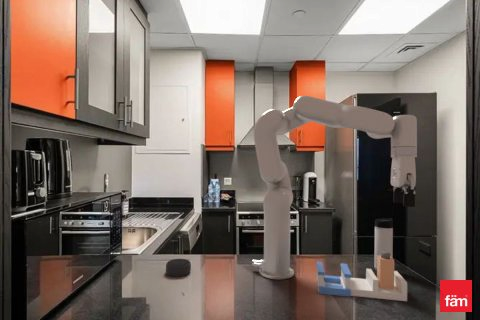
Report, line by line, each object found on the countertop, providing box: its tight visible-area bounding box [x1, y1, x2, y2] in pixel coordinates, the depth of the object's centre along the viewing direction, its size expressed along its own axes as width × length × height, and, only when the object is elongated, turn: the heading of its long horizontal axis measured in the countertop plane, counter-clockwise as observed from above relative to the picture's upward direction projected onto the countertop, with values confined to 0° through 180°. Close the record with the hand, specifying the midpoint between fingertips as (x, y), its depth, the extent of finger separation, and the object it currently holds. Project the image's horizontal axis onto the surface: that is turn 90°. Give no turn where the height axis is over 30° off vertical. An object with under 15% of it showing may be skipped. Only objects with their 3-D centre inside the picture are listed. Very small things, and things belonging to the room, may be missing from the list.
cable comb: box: [316, 260, 408, 302], centre depth 96 cm, size 26×11×6 cm, turn 78°
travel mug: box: [373, 217, 395, 272], centre depth 115 cm, size 6×7×20 cm
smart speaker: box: [165, 258, 192, 277], centre depth 109 cm, size 9×9×4 cm
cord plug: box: [376, 251, 395, 289], centre depth 94 cm, size 4×4×11 cm
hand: (403, 204), depth 98 cm, fingers open, 9 cm apart
